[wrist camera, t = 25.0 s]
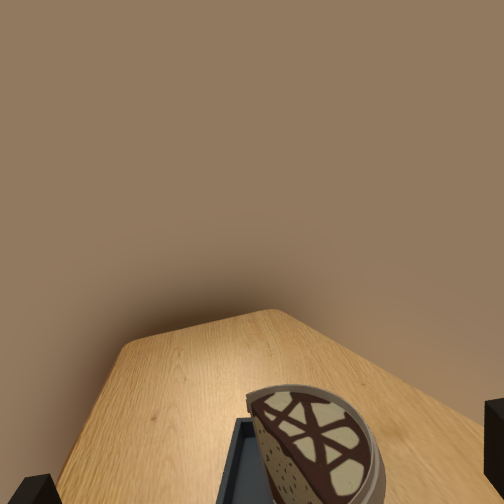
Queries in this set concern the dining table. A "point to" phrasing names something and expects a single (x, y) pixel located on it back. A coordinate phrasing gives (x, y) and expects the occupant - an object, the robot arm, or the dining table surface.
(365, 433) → the food container
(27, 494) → the robot arm
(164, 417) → the dining table surface
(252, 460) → the tray
